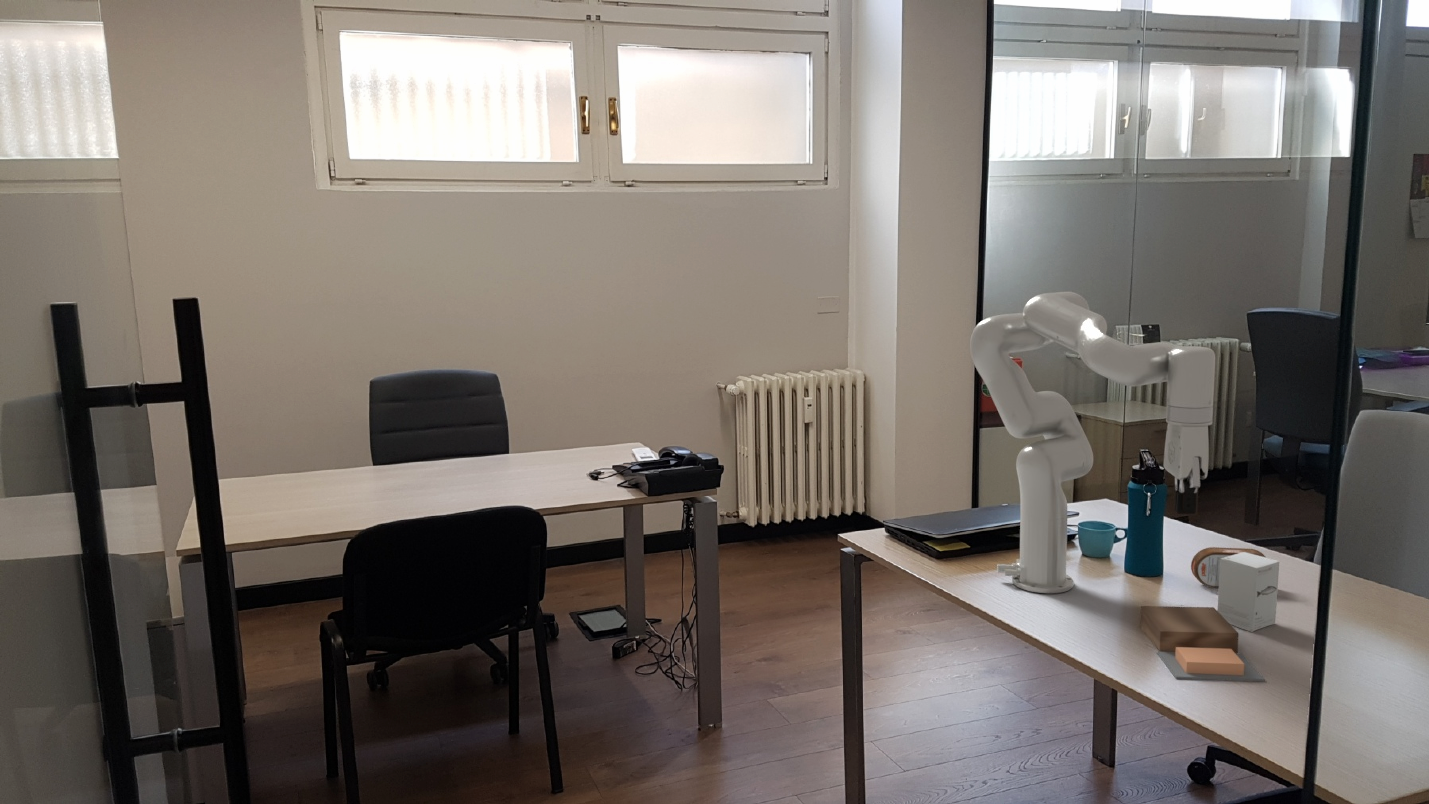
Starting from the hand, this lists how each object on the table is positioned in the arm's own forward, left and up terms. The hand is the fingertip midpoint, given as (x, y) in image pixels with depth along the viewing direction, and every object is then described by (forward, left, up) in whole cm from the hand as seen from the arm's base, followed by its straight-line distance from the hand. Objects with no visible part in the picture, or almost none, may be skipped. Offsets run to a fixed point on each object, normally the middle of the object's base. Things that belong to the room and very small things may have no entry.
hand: (1184, 512), depth 173 cm
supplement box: (+14, +5, -23) cm, 27 cm away
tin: (+18, +24, -23) cm, 38 cm away
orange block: (0, -16, -21) cm, 26 cm away
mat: (0, -15, -23) cm, 28 cm away
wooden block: (0, -4, -23) cm, 23 cm away
